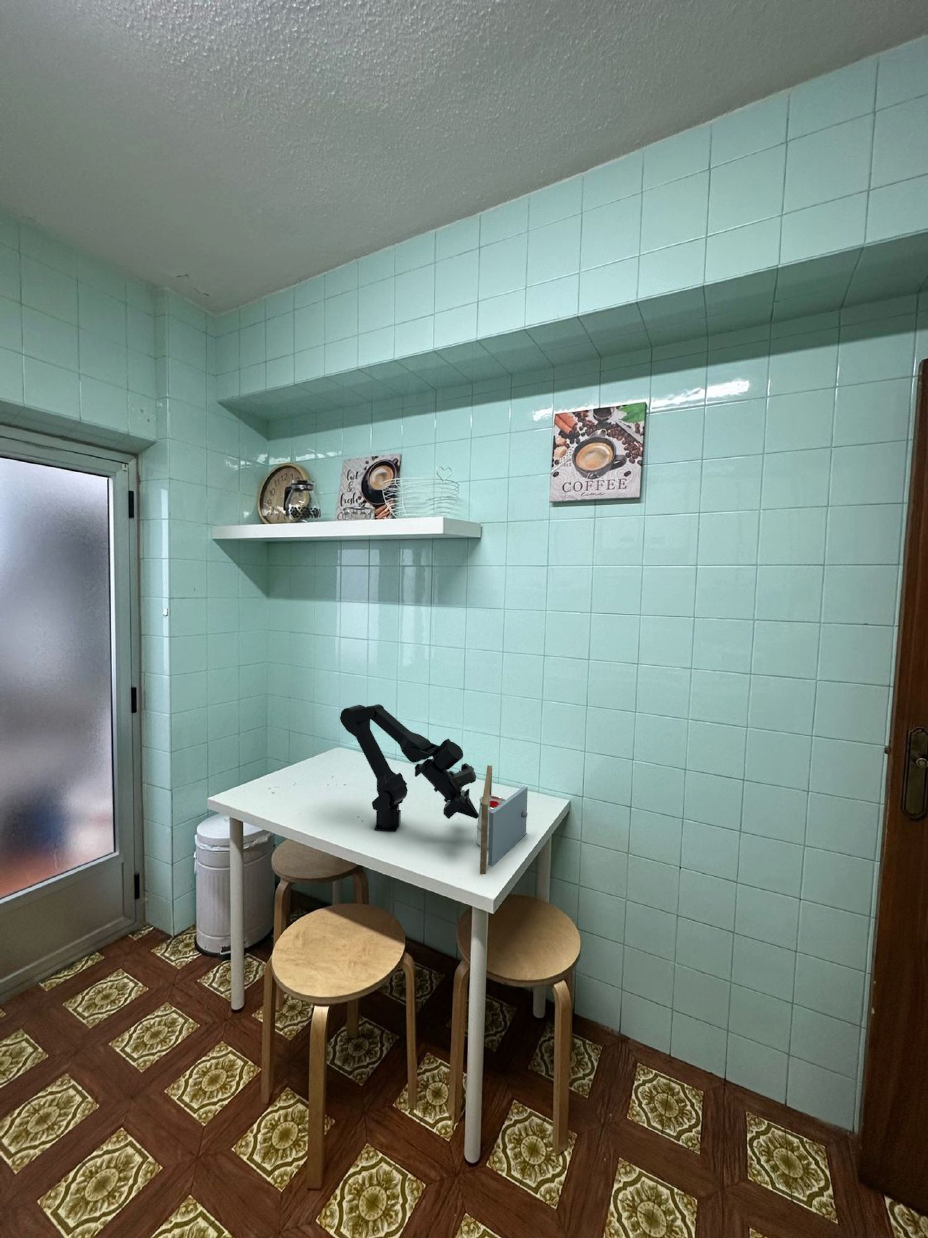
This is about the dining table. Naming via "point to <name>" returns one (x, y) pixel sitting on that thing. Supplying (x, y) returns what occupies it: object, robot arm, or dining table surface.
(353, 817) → the dining table surface
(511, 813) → the door
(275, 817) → the dining table surface
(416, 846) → the dining table surface
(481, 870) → the door frame
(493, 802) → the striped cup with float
